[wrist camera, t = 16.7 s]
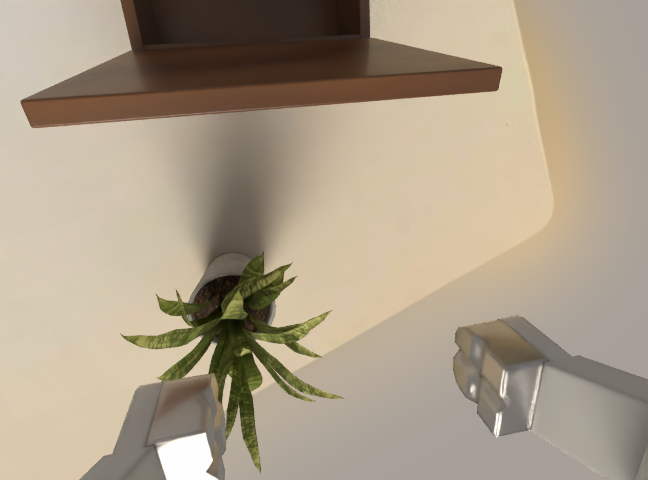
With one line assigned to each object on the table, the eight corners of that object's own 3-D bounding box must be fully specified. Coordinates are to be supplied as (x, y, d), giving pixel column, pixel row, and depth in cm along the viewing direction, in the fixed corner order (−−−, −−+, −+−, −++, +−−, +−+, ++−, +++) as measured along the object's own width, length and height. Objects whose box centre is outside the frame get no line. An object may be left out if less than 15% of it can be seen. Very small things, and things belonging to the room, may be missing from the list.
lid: (17, 100, 10) (30, 129, 11) (504, 66, 13) (498, 91, 13) (129, 50, 22) (133, 65, 23) (372, 37, 25) (372, 51, 25)
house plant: (328, 319, 41) (379, 451, 26) (203, 363, 40) (181, 528, 25) (289, 197, 35) (325, 276, 20) (141, 245, 34) (63, 366, 19)
